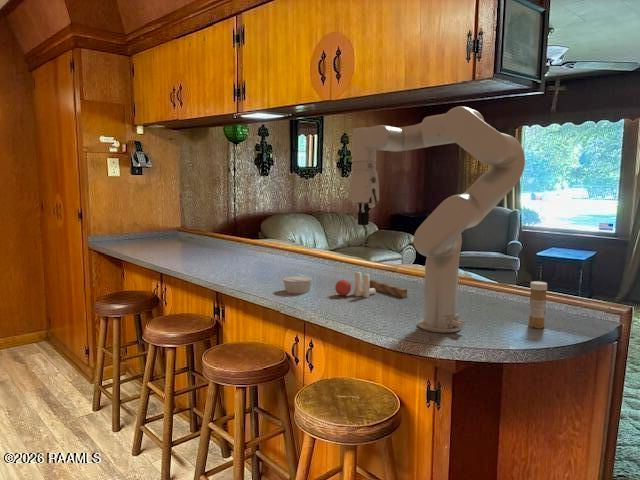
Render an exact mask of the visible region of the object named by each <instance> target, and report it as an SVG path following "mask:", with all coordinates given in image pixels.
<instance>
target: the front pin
mask: <svg viewBox="0 0 640 480" xmlns="http://www.w3.org/2000/svg"><path fill="white" fill-rule="evenodd" d="M376 292H377V290H375V288H369V296H371V295H376V294H377V293H376ZM353 295H354V297H355V298H357V297H363V288H361V290H355V289H354V291H353Z"/></svg>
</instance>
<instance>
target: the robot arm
mask: <svg viewBox="0 0 640 480" xmlns="http://www.w3.org/2000/svg"><path fill="white" fill-rule="evenodd" d="M351 142H352V147H351V148H352V150H351V151H352V152H351V153H352V157H351V158H352V159H351V161H352V162H351V163H352V164H351V166H352V167H351V171H352V172H351V177H350V186H349V188H350V192H349V199H350V201H351V203H352V204H351V205H352V206H353V207H355V208H356V212H357V225H358V226H369V223H370V222H369V220H370V216H369V215H370V213H371V209H372V208H374V207H376V204H378V203H379V201H380V185H379V184H380V183H379V175H378V171H377V150H378V151H384V152H385V151H388V152H403V151H404V152H405V151H411V150H412V151H413V150H417V149H418V150H419V149H423V148H424V149H425V148H429V147H433V146H435V147H436V146H441V145H448V144H449V145H450V144H456V145H458V146H459V147H461V148H462V149H463V150H464V151H466V152H467V153H468V154H469V155H470V156H472V157H473V158H474V159H476V160H477V161H479V162H480V163H482V164H483V165H487V166H489V168H488V169H487V170H486V171H485V172H484V173H482V175H480V176H479V177H478V178H477V179H476V180H475V182H474V183H473V184H472V185H471V186H470V187H469V188H467V190H465V191H464V192H463V193H461V194H460V193H459V194H454V195H451V196H449V197H447V198H446V199H444V200H443V201H442V202H441V203H440V204H438V206H436V208H435V209H434V210H433V211H432V212H431V213H430V214H429V215H428V216H427V218H425V220H424V221H423V222H422V223H421V224H420V225H419V226H418V228H417V229H416V230H415V233H414V234H413V246H414V248H415V250H416V251H417V253H418V254H420V255H421V256H423V257H426V258H425V259H426V260H425V265H424V289H423V292H424V293H423V318H420V319H418V321H417V326H418V327H419V328H421V329H422V330H424V331H429V332H433V333H445V334H447V333H455V332H458V331H461V330H462V329H463V328H464V326H465V325H466V321H465V320H461V319H460V313H457V309H458V290H459V289H458V286H459V285H458V284H459V268H460V267H459V265H460V256H461V255H460V254H461V249H462V245H463V238H462V233H463V232H464V231H465V230H466V229H470V228H474V227H476V226H478V225H479V224H480V223H481V222H482V221H484V218H486V216H487V215H488V214H489V213H490V212H491V211H492V210H493V209H495V207H496V206H497V205H498V204H499V203H500V202H501V201H502V200H503V199H504V198H505V197H506V196H507V195H508V194H509V193H510V192H511V191H512V189H514V187H515V186H516V185H517V184H518V182H519V181H520V180H521V177H522V175H523V172H524V170H525V165H526V156H525V151H524V148H523V146H522V144H521V143H520V142H519V140H518V139H517V138H516V137H514V136H513V135H510V134H506V133H502V132H500V131H498V130H497V129H495V128H494V127H493V126H491V125H490V124H489V123H487V122H485V119H484V116H483V115H482V114H481V113H480V112H479V111H477V110H475V109H472V108H470V107H467V106H462V105H461V106H456V107H452V108H451V109H449V110H448V111H447V112H445V113H442V114H435V115H434V114H433V115H430V116H429V115H428V116H426V117H424V118H423V119H422V122H420V123H417V124H413V125H407V126H406V125H405V126H400V127H395V126H393V125H392V126H391V125H387V124H386V125H384V124H380V125H375V126H371V127H365V126H364V127H357V128H354V129H353V130H352V141H351Z"/></svg>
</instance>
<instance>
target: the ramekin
mask: <svg viewBox="0 0 640 480" xmlns="http://www.w3.org/2000/svg"><path fill="white" fill-rule="evenodd" d="M312 281H313V278H312V277H311V276H306V275H292V276H291V275H290V276H286V277H284V278H283V285H284V289H285V291H286V293H288V294H292V295H300V294H301V295H302V294H303V295H304V294H307V293H309V292H310V291H311V286H312Z"/></svg>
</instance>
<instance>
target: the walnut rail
mask: <svg viewBox="0 0 640 480" xmlns="http://www.w3.org/2000/svg"><path fill="white" fill-rule="evenodd" d="M369 288H375V290H376V291H378V292H383V293H386V294H389V295H392V296H395V297H398V298H403V299H404V298H407V297H408V289H407V288H402V287H399V286H396V285H392V284H388V283H385V282H382V281H379V280H374V279H372V278H370V285H369Z"/></svg>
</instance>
